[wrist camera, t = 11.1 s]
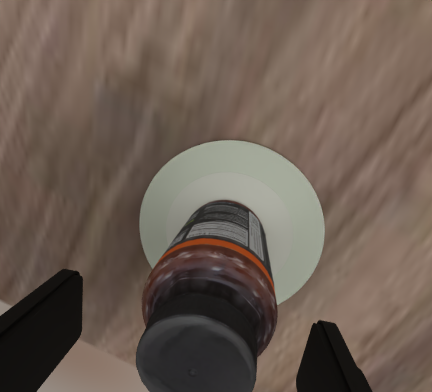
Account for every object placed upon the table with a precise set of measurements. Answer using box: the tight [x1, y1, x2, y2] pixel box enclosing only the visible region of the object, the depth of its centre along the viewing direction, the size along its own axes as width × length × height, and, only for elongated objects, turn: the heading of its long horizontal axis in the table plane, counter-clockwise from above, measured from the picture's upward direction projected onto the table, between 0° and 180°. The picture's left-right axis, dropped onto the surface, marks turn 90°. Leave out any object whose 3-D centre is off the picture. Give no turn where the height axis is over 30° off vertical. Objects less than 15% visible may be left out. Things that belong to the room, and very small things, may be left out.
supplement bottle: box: [136, 200, 278, 392], centre depth 13 cm, size 6×6×11 cm
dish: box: [139, 140, 325, 305], centre depth 20 cm, size 14×14×2 cm
